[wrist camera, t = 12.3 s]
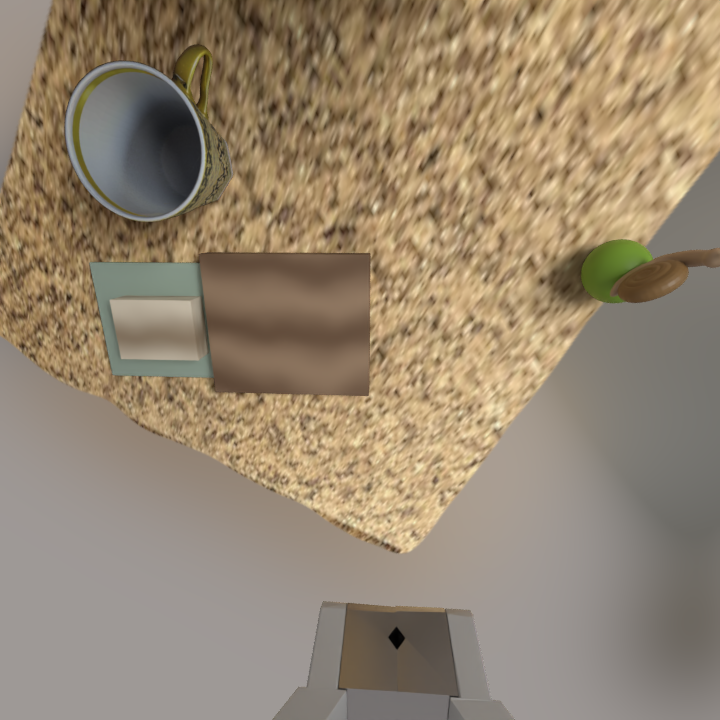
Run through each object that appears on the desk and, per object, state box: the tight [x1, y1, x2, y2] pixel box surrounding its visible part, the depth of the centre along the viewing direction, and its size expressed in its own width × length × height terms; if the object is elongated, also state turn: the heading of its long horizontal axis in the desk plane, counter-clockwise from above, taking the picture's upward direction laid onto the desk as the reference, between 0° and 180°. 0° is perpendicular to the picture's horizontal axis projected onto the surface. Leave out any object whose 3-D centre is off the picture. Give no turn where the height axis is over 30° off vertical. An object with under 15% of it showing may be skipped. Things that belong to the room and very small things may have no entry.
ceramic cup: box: [65, 44, 233, 222], centre depth 32 cm, size 13×10×10 cm
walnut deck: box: [199, 252, 370, 396], centre depth 41 cm, size 14×16×2 cm
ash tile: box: [110, 295, 209, 361], centre depth 41 cm, size 6×8×2 cm
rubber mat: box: [90, 262, 214, 378], centre depth 42 cm, size 12×12×1 cm
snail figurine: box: [581, 239, 720, 303], centre depth 32 cm, size 5×6×12 cm
